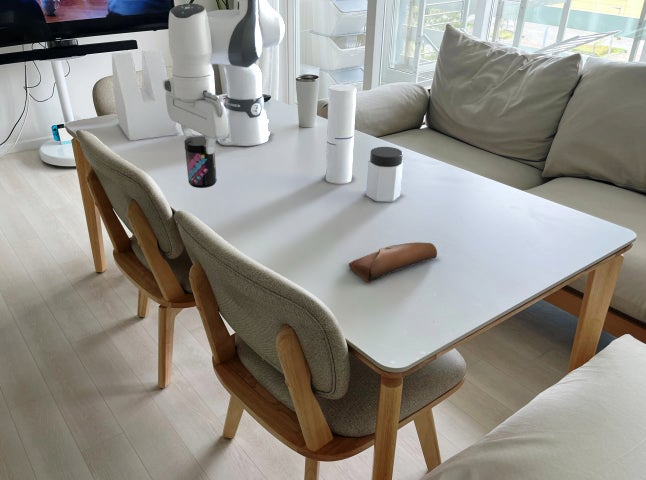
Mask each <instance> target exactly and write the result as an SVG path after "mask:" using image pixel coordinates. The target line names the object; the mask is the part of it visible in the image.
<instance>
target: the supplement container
mask: <svg viewBox="0 0 646 480" xmlns="http://www.w3.org/2000/svg"><path fill="white" fill-rule="evenodd" d="M206 142H207V140H206V139H205V135H196V136H195V137H190V138H187V139H186V140H185V139H184V141H183V143H184V151H185V161H186V170H187V171H186V172H187V179H188V180H187V182H188V184H189V186H191V187H192V188H196V189H206V188H212V187H213V186H214V185H216V183H217V181H218V179H217V177H218V176H217V165H216V151H215V150H214V153H212V154H207V153H205V152H204V145H206Z"/></svg>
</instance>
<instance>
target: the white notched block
mask: <svg viewBox="0 0 646 480" xmlns="http://www.w3.org/2000/svg"><path fill="white" fill-rule="evenodd" d="M141 54H142V55H141V59H142V60H141V66H142V67H141V71H142V72H141V87H140V82H139V79H138V75H137V70H136V66H135V62H134V58H133V53H132V52H131V51H126V52H112V53H111V62H112V63H111V67H112V87H113V90H112V91H113V97H114V103H115V109H116V116H117V123H118V125H119V127H120V128H121V130H122V131H123V133H124V134H125V135H126V137H127V138H128V140H129V141H138V140H147V139H155V138H162V137H169V136H176V135H177V136H178V132H177V131H178V130H177V122H175V121H172V120H171V119H170V117H169V114H168V110H167V104H166V90H164V87H163V81H164V80H167V79H169V77H168V76H169V75H168V72H167V68H166V63H165V59H164V55H163V51H162V50H161V49H154V50H153V49H151V50H142V52H141Z"/></svg>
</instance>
